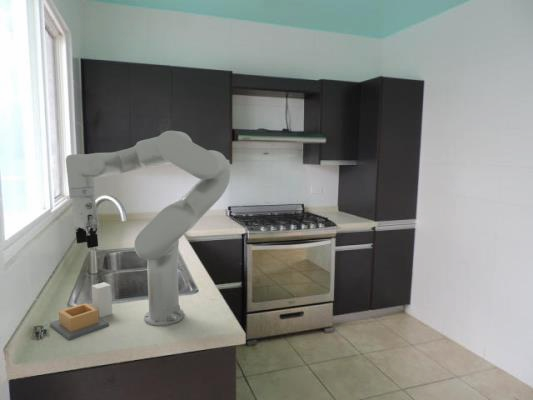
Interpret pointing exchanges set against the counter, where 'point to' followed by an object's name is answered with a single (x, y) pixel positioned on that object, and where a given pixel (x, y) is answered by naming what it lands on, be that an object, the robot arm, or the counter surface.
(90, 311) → the socket block
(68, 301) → the counter surface
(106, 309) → the white plug
